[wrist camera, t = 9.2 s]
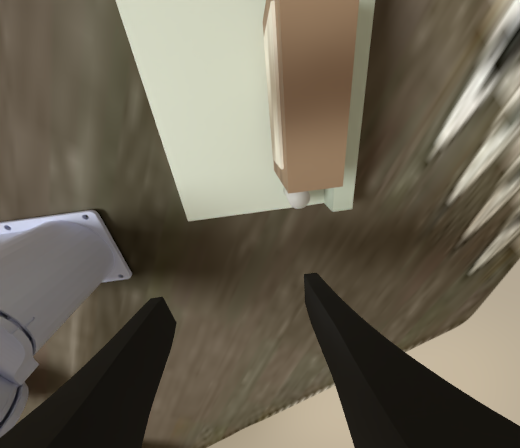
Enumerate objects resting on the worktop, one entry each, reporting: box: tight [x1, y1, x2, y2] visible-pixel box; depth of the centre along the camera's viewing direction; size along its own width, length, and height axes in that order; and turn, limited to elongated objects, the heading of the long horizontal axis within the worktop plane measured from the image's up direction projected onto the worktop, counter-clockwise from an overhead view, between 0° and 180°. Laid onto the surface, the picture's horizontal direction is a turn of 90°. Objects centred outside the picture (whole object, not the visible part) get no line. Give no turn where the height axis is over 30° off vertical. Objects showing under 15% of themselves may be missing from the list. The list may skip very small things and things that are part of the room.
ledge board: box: [116, 0, 375, 221], centre depth 13 cm, size 14×16×4 cm
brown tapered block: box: [263, 0, 359, 194], centre depth 11 cm, size 9×3×6 cm, turn 7°
